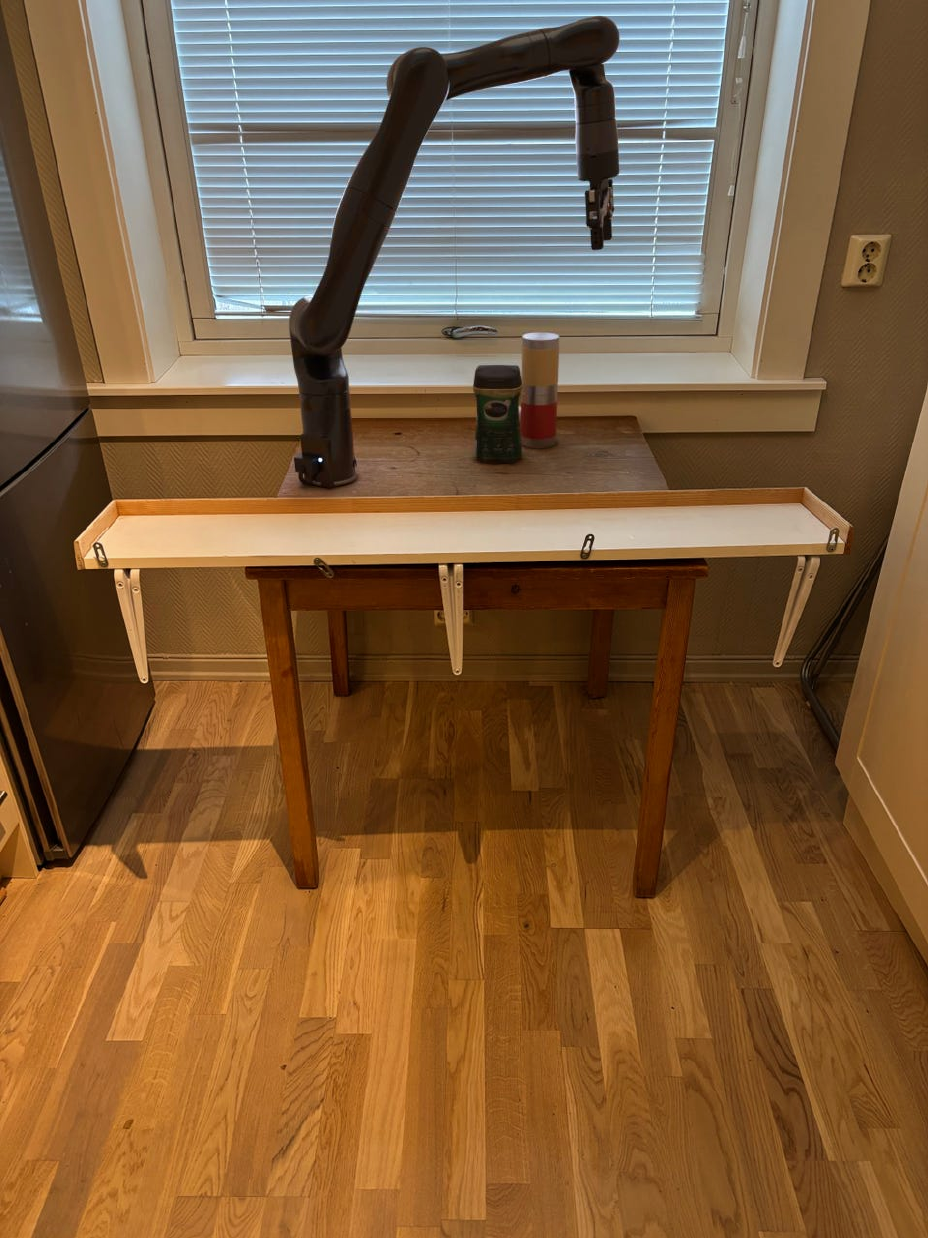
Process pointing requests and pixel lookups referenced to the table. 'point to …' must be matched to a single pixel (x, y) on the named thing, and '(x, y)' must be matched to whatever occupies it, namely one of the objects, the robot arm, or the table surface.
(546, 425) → the tin cans
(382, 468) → the table surface
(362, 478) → the table surface
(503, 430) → the coffee jar
